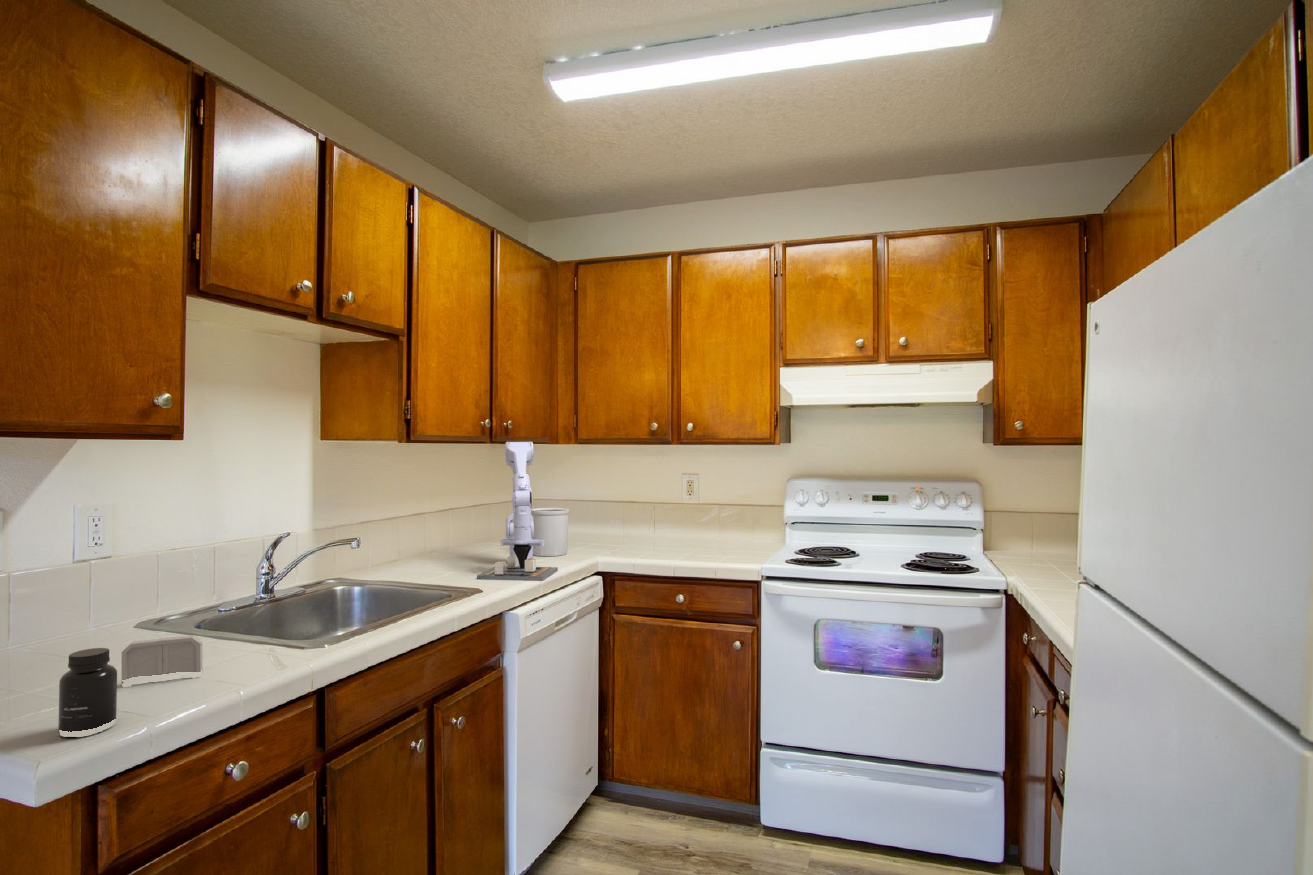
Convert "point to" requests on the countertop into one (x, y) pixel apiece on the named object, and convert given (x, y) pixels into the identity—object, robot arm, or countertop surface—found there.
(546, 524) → the utensil holder
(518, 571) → the breaker panel
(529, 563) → the block
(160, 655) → the light switch
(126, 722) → the countertop surface
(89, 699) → the supplement bottle
